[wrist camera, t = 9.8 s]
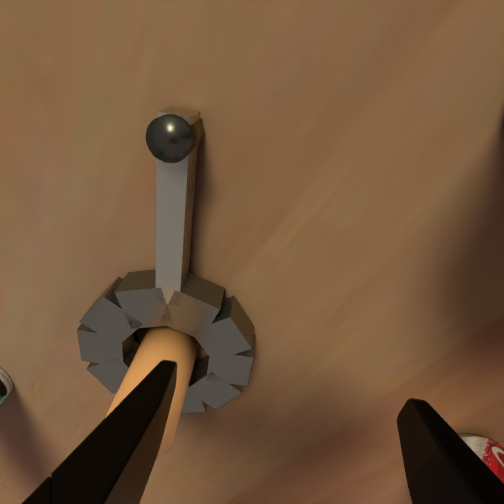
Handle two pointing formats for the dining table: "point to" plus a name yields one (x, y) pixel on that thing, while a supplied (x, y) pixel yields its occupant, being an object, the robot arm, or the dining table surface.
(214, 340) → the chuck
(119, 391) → the rod
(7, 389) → the spray can
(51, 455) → the dining table surface
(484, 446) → the soda can
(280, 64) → the dining table surface
